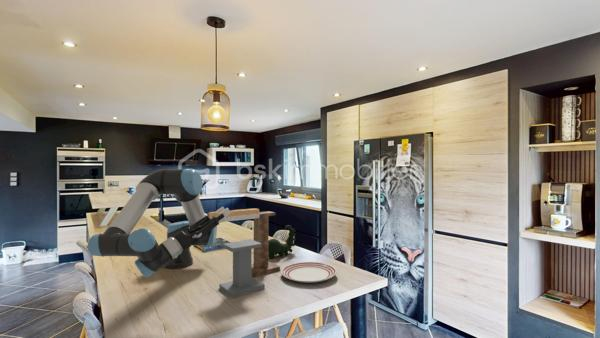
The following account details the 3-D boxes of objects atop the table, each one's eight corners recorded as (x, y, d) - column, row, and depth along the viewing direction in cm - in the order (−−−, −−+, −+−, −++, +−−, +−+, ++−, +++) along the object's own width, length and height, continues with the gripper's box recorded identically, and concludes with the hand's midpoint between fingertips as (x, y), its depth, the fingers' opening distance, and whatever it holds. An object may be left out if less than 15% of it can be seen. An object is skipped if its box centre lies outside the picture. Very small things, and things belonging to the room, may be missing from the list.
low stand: (231, 297, 127) (231, 249, 127) (219, 288, 136) (219, 243, 136) (264, 288, 137) (264, 243, 137) (251, 280, 146) (251, 238, 146)
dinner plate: (296, 291, 134) (296, 283, 134) (272, 272, 159) (272, 265, 159) (347, 281, 147) (347, 274, 147) (318, 264, 171) (318, 258, 171)
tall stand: (253, 276, 151) (253, 215, 151) (241, 270, 161) (241, 213, 161) (280, 270, 161) (280, 213, 161) (267, 264, 170) (268, 210, 170)
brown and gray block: (212, 223, 126) (212, 213, 126) (208, 221, 129) (208, 212, 129) (259, 218, 139) (259, 209, 139) (254, 216, 142) (255, 208, 142)
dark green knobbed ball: (287, 253, 199) (257, 258, 181) (289, 223, 200) (259, 225, 182) (297, 256, 193) (267, 261, 174) (299, 225, 194) (270, 227, 176)
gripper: (176, 247, 127) (222, 214, 140) (189, 256, 114) (239, 219, 126) (166, 232, 125) (214, 200, 137) (179, 240, 111) (231, 204, 124)
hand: (226, 209), depth 132 cm, fingers closed on brown and gray block, 4 cm apart
